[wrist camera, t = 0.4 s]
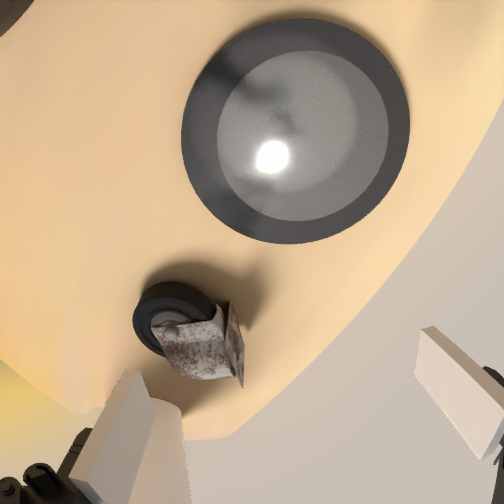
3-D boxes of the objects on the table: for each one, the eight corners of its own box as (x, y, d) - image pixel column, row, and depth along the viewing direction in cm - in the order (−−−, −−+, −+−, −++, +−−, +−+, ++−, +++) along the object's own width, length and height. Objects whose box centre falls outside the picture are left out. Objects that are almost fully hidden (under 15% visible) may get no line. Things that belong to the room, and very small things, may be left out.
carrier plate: (144, 60, 17) (142, 60, 16) (387, 12, 16) (395, 11, 16) (226, 264, 28) (228, 272, 27) (405, 203, 28) (411, 209, 27)
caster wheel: (134, 277, 30) (224, 260, 30) (170, 353, 35) (249, 344, 34) (110, 315, 24) (217, 300, 24) (158, 395, 29) (248, 389, 28)
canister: (89, 399, 40) (86, 513, 24) (163, 391, 40) (174, 519, 25) (127, 428, 48) (132, 522, 32) (191, 422, 49) (206, 521, 33)
